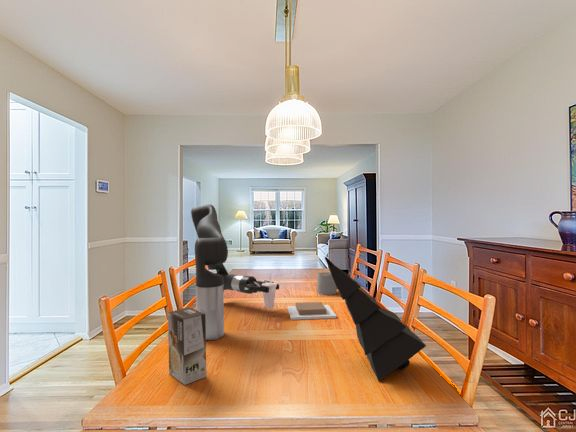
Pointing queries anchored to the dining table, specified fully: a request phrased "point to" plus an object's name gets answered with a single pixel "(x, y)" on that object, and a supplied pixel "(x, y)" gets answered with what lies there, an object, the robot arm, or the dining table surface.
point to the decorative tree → (376, 327)
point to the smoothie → (269, 294)
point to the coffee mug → (326, 284)
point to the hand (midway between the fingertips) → (273, 288)
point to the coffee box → (187, 345)
